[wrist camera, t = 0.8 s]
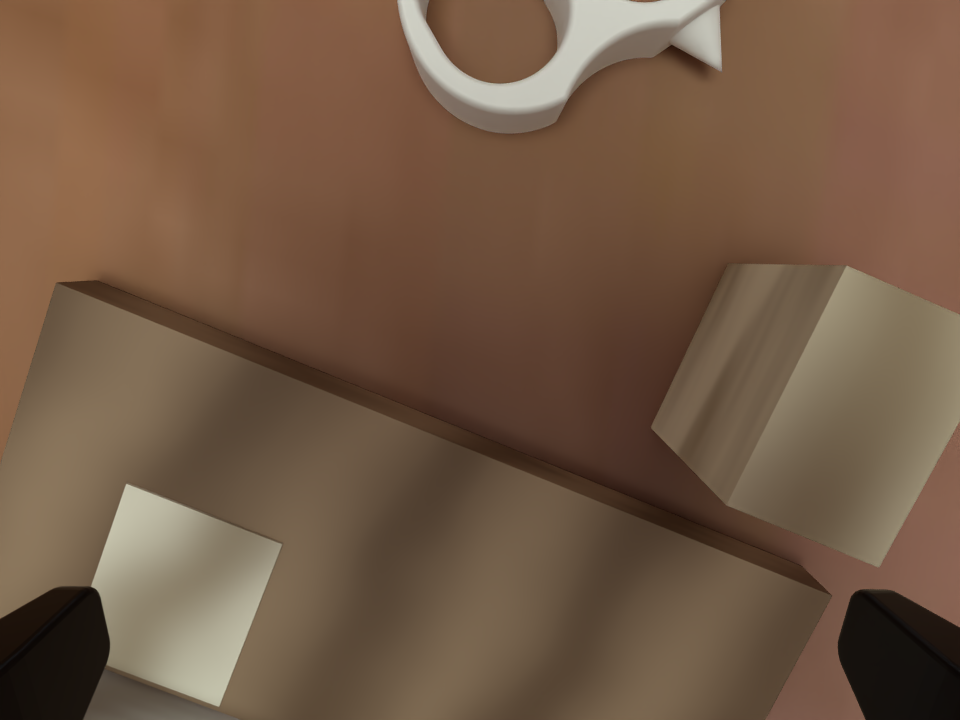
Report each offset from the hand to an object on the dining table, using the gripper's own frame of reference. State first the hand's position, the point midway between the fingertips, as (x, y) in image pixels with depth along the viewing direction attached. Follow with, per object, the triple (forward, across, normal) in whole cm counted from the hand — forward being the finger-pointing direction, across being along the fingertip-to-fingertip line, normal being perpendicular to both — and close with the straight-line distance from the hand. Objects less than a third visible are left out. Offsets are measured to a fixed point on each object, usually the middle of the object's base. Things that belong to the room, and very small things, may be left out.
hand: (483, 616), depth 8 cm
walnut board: (+12, +2, +10) cm, 16 cm away
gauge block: (+14, -9, +2) cm, 17 cm away
